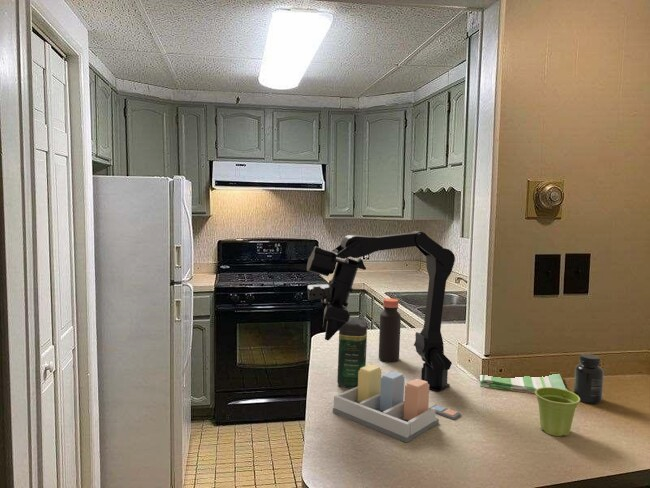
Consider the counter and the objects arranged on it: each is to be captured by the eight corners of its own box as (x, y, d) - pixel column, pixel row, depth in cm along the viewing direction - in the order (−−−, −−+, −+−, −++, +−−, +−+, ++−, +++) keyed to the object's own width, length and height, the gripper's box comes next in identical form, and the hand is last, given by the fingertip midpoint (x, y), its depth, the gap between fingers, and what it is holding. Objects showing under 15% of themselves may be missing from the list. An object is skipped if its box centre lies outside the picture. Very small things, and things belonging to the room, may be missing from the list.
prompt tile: (460, 415, 122) (460, 412, 122) (453, 419, 119) (453, 416, 119) (435, 406, 126) (435, 403, 126) (428, 410, 124) (428, 407, 124)
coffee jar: (363, 390, 136) (366, 324, 134) (335, 388, 137) (337, 322, 136) (366, 378, 146) (368, 316, 144) (339, 375, 147) (341, 314, 145)
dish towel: (569, 400, 134) (570, 390, 134) (479, 389, 140) (480, 379, 140) (558, 378, 151) (559, 369, 151) (478, 369, 157) (479, 360, 157)
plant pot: (575, 444, 108) (578, 406, 107) (529, 433, 113) (531, 396, 112) (579, 428, 116) (582, 392, 115) (536, 418, 121) (538, 384, 120)
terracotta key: (427, 416, 117) (429, 381, 116) (416, 423, 114) (418, 387, 113) (415, 412, 120) (416, 377, 119) (403, 418, 116) (405, 383, 115)
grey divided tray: (438, 422, 117) (439, 406, 117) (406, 442, 107) (407, 424, 107) (366, 396, 132) (367, 382, 131) (332, 411, 122) (333, 396, 121)
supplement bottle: (600, 397, 135) (603, 354, 134) (602, 406, 129) (606, 362, 128) (572, 392, 138) (575, 351, 137) (573, 401, 132) (576, 357, 131)
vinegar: (402, 358, 164) (404, 299, 162) (393, 364, 159) (396, 302, 157) (383, 354, 168) (386, 297, 166) (374, 360, 162) (377, 300, 160)
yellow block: (380, 399, 127) (381, 367, 126) (368, 405, 123) (369, 371, 122) (369, 395, 129) (370, 363, 128) (357, 401, 125) (358, 368, 125)
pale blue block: (403, 407, 122) (404, 374, 121) (391, 414, 118) (392, 379, 118) (391, 403, 124) (392, 370, 124) (379, 409, 121) (380, 375, 120)
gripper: (312, 265, 141) (296, 316, 143) (315, 279, 122) (297, 337, 124) (349, 276, 142) (333, 326, 144) (358, 291, 124) (339, 349, 125)
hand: (325, 334), depth 134 cm, fingers open, 9 cm apart
